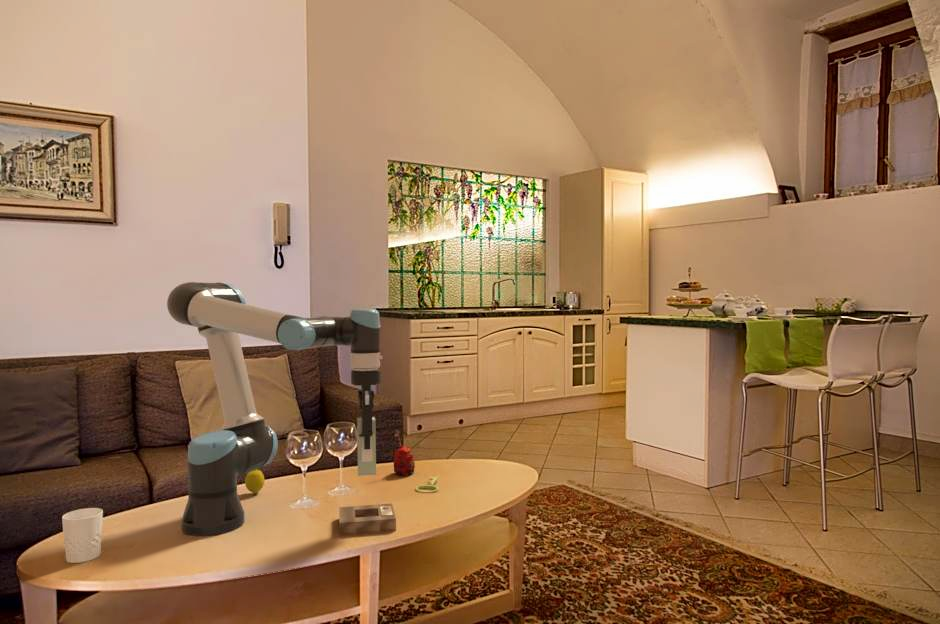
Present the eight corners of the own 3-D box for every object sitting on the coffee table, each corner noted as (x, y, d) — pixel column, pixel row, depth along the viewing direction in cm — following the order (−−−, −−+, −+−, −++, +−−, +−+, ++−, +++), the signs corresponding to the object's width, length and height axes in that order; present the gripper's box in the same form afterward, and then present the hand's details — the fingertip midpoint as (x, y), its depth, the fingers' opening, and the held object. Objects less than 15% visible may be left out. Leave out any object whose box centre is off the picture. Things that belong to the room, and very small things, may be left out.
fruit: (248, 491, 189) (248, 465, 189) (266, 490, 190) (266, 464, 189) (242, 496, 184) (242, 470, 184) (261, 496, 184) (261, 469, 184)
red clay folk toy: (410, 477, 203) (410, 432, 203) (389, 476, 205) (389, 431, 205) (417, 471, 211) (417, 427, 210) (397, 470, 212) (397, 426, 212)
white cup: (54, 561, 139) (54, 516, 139) (88, 548, 146) (88, 506, 146) (78, 566, 136) (77, 521, 136) (111, 553, 143) (110, 510, 143)
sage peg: (358, 475, 158) (357, 420, 158) (357, 470, 162) (357, 417, 162) (376, 474, 159) (375, 420, 159) (375, 469, 163) (374, 416, 163)
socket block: (339, 535, 154) (339, 521, 154) (339, 518, 165) (339, 505, 165) (396, 530, 156) (395, 517, 156) (392, 514, 168) (392, 502, 168)
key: (438, 482, 199) (438, 475, 199) (438, 494, 187) (438, 487, 187) (415, 482, 199) (415, 476, 199) (415, 495, 187) (415, 488, 186)
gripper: (382, 372, 152) (383, 466, 153) (378, 365, 170) (379, 450, 170) (351, 373, 151) (352, 468, 151) (350, 365, 168) (351, 451, 168)
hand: (366, 458), depth 161 cm, fingers closed on sage peg, 4 cm apart
